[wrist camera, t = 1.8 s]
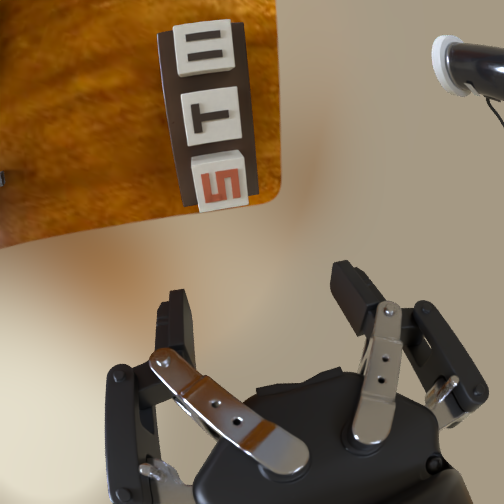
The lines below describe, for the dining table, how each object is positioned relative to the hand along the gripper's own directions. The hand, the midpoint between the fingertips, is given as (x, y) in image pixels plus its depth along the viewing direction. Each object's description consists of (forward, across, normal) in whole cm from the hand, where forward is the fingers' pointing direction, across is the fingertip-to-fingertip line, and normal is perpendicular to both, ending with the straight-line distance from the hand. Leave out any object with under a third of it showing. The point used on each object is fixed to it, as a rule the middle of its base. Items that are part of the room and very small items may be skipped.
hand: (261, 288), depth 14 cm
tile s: (+12, +1, -2) cm, 13 cm away
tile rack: (+20, +1, -8) cm, 22 cm away
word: (+13, +1, -11) cm, 16 cm away
